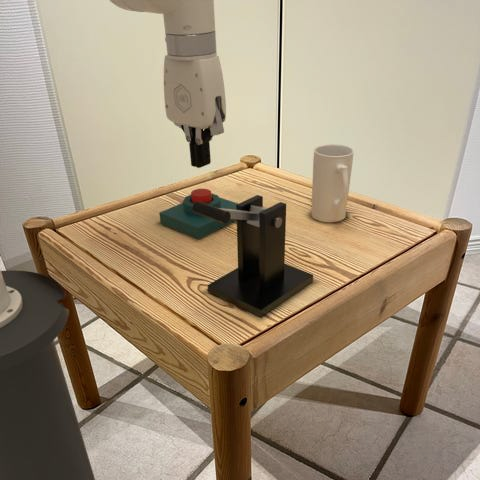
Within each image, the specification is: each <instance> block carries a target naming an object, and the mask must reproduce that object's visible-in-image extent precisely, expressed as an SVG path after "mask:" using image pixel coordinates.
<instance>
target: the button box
mask: <svg viewBox="0 0 480 480" xmlns="http://www.w3.org/2000/svg"><path fill="white" fill-rule="evenodd" d="M211 196H212V202H210V203H207V204H208V205H211V206H214V207H216V208H223V209H233V210H236V205H237V204H239V203H238V202H235V201H232V200H228V199H226V198H223V197H220V196H219V195H218V194H214V193H212V192H211ZM193 204H194V203H192V199H191V194H189V195H187V196H185V197H184V198H183V199H182V202H181V203H179V204H176V205H174V206H172V207H169V208H167V209H164V210H161V211H160V212H159V213H158V214H159V223H160V224H161V225H163V226H165V227H168V228H170V229H173V230H175V231H177V232H180V233H182V234H185V235H187V236H190V237H192V238H194V239H197V240H200V239H203V238H205V237H208V235H211V234H212V233H215V232H217V231H219V230H221V229H223V228H225V227H227V226H229V225H231V224H234V223H235V222H237V219H230V221H229V222H228V223H226V224H224V223H221V222H219V221H216V220H213V219H210V218H208V217H205V216H202V215H200V214H197V213H194V212H193Z"/></svg>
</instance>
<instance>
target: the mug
mask: <svg viewBox="0 0 480 480" xmlns="http://www.w3.org/2000/svg"><path fill="white" fill-rule="evenodd" d="M354 152H355V150H354V148H352V147H351V146H348V145H344V144H333V143H329V144H327V143H326V144H321V145H318V146H316V147H315V148H314V149H313V158H312V159H313V160H312V163H313V164H312V181H311V183H312V185H311V211H310V214H311V217H312V218H313V219H314V220H316V221H318V222H322V223H337V222H341V221H343V220H344V219H345V218H346V215H347V207H348V201H349V193H350V184H351V176H352V169H353V161H354Z"/></svg>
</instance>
